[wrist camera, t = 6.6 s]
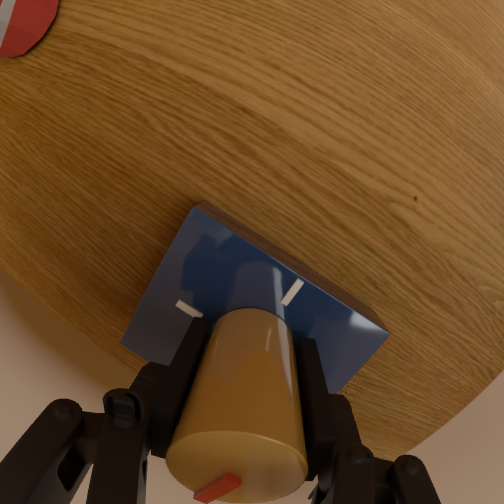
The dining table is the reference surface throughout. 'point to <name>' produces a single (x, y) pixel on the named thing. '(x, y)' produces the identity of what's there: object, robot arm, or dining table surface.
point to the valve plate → (249, 296)
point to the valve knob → (242, 414)
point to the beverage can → (24, 24)
